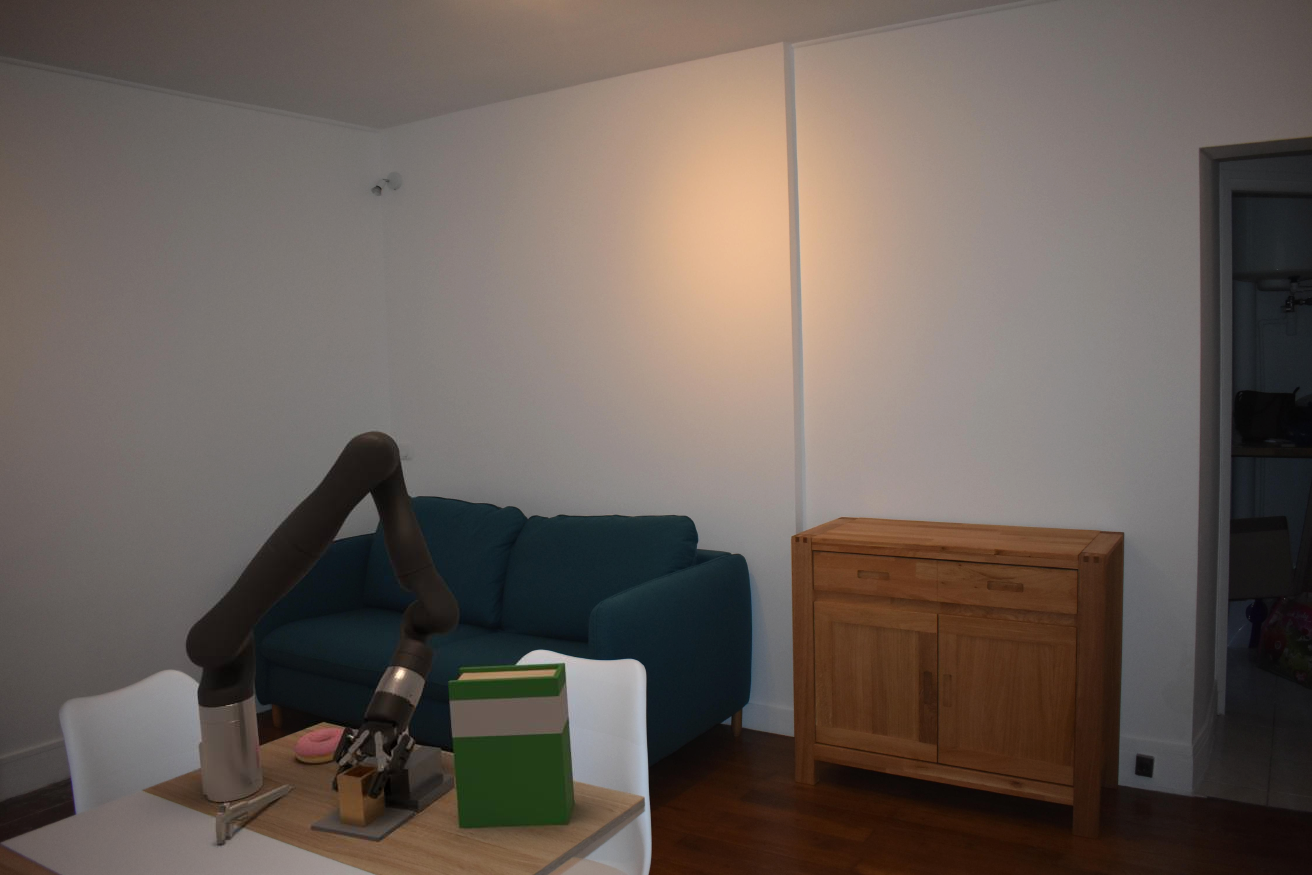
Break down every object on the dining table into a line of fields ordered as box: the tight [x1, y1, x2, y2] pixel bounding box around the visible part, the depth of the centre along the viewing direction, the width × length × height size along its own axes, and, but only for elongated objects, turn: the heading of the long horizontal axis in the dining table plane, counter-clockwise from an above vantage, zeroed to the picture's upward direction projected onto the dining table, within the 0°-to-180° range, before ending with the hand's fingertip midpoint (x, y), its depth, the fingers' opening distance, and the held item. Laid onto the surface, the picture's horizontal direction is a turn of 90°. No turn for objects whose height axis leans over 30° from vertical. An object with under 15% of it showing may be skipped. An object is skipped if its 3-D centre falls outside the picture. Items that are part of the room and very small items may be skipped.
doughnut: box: [293, 727, 345, 764], centre depth 180 cm, size 11×11×4 cm
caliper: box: [215, 784, 295, 845], centre depth 155 cm, size 20×1×6 cm, turn 171°
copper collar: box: [337, 763, 386, 828], centre depth 149 cm, size 5×5×8 cm
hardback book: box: [447, 662, 576, 829], centre depth 148 cm, size 18×7×24 cm, turn 87°
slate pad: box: [310, 806, 416, 843], centre depth 150 cm, size 14×9×1 cm, turn 67°
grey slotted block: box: [359, 726, 456, 813], centre depth 159 cm, size 17×10×13 cm, turn 67°
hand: (354, 793), depth 148 cm, fingers open, 6 cm apart
